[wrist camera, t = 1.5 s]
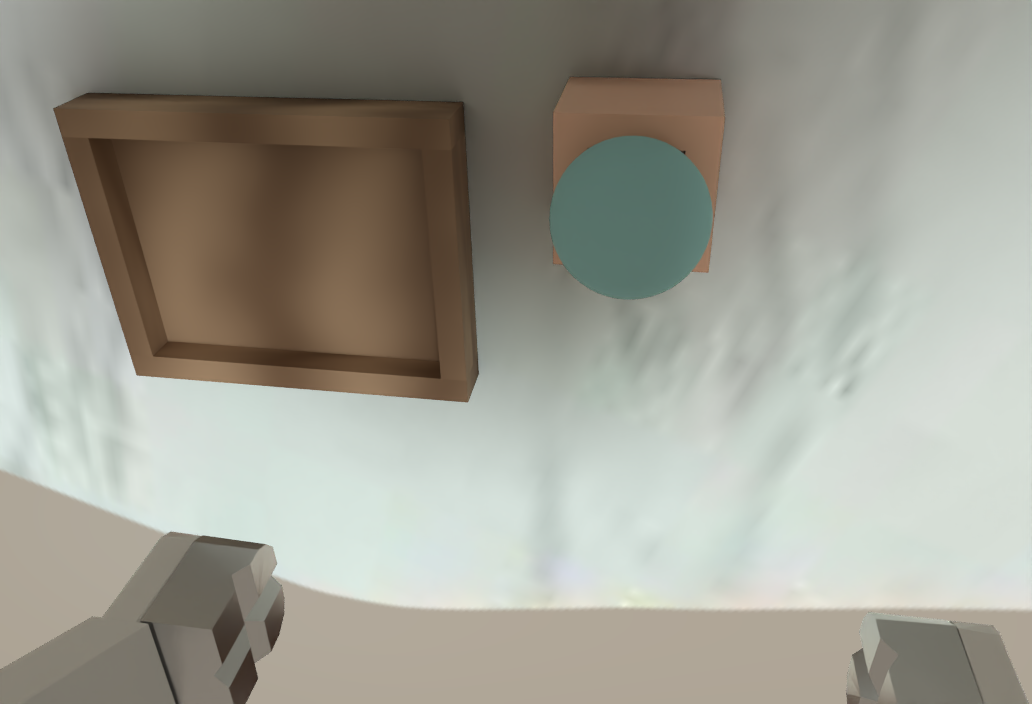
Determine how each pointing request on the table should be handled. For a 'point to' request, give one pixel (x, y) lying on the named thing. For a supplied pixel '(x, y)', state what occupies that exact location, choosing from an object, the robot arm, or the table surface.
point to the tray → (283, 238)
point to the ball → (631, 217)
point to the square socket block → (642, 123)
